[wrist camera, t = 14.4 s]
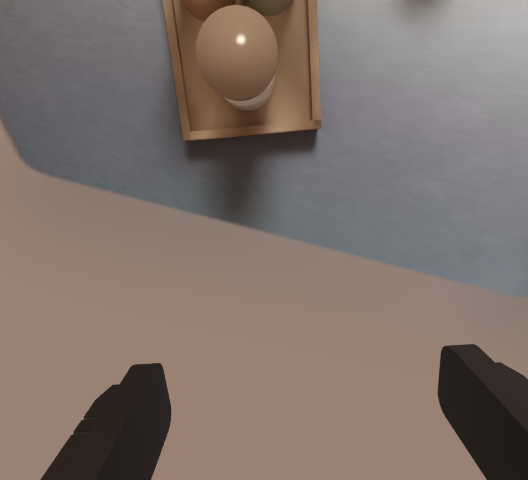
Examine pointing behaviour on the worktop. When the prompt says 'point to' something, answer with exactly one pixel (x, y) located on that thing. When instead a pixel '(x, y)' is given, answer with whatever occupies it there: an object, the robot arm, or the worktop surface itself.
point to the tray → (285, 83)
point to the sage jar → (268, 6)
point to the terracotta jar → (205, 7)
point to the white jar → (238, 56)
